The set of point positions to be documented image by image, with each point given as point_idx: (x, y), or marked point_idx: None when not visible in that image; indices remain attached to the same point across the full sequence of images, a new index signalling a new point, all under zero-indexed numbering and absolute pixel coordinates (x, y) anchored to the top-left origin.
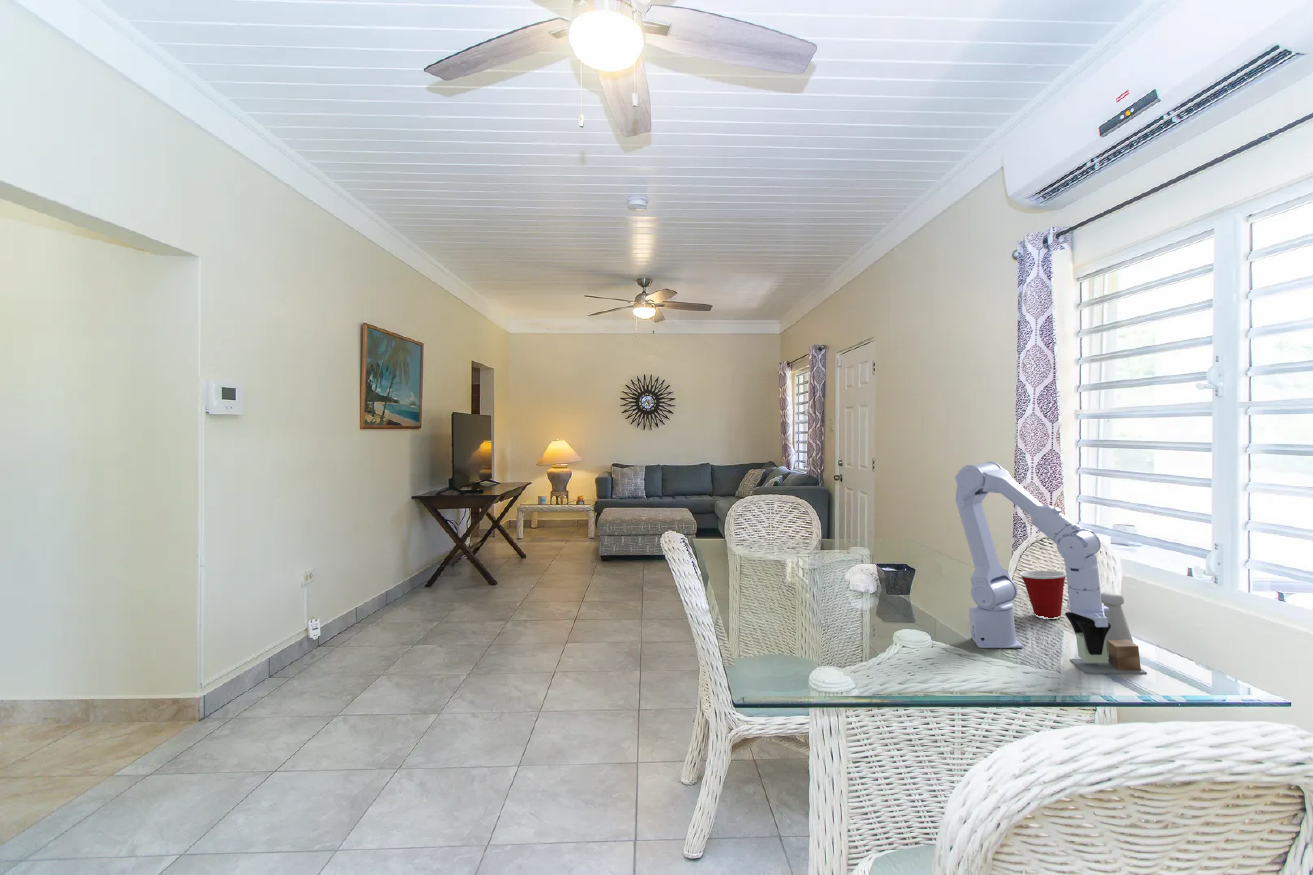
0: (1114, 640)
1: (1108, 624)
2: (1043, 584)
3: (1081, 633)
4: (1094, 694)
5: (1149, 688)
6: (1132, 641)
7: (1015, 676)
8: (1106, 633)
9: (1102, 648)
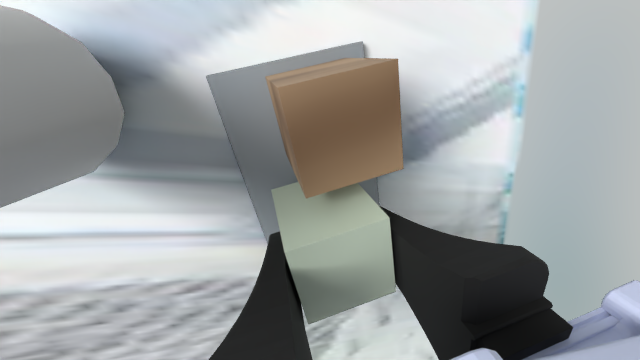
0: (312, 164)
1: (540, 271)
2: None
3: (312, 306)
4: (499, 203)
5: (477, 70)
6: (21, 11)
7: (406, 330)
8: (466, 240)
9: (388, 211)
